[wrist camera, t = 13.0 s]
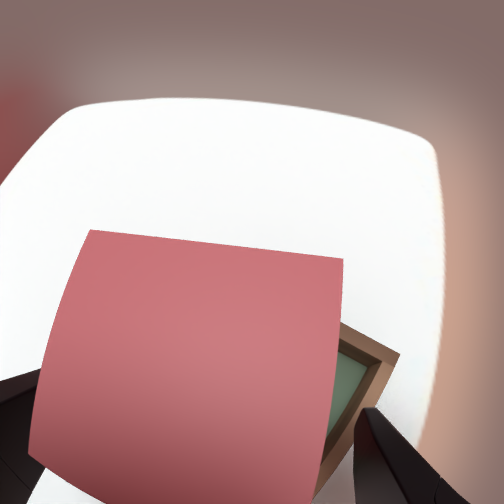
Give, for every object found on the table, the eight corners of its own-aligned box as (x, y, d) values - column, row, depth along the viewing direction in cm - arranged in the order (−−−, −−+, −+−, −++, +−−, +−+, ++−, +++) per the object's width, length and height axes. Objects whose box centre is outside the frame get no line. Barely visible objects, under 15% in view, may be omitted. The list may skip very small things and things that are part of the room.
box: (277, 518, 11) (277, 537, 9) (115, 406, 15) (90, 404, 13) (381, 362, 16) (400, 354, 13) (217, 269, 20) (208, 247, 17)
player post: (279, 442, 14) (296, 553, 2) (194, 426, 14) (28, 453, 3) (293, 362, 16) (343, 258, 5) (210, 349, 17) (90, 229, 5)
